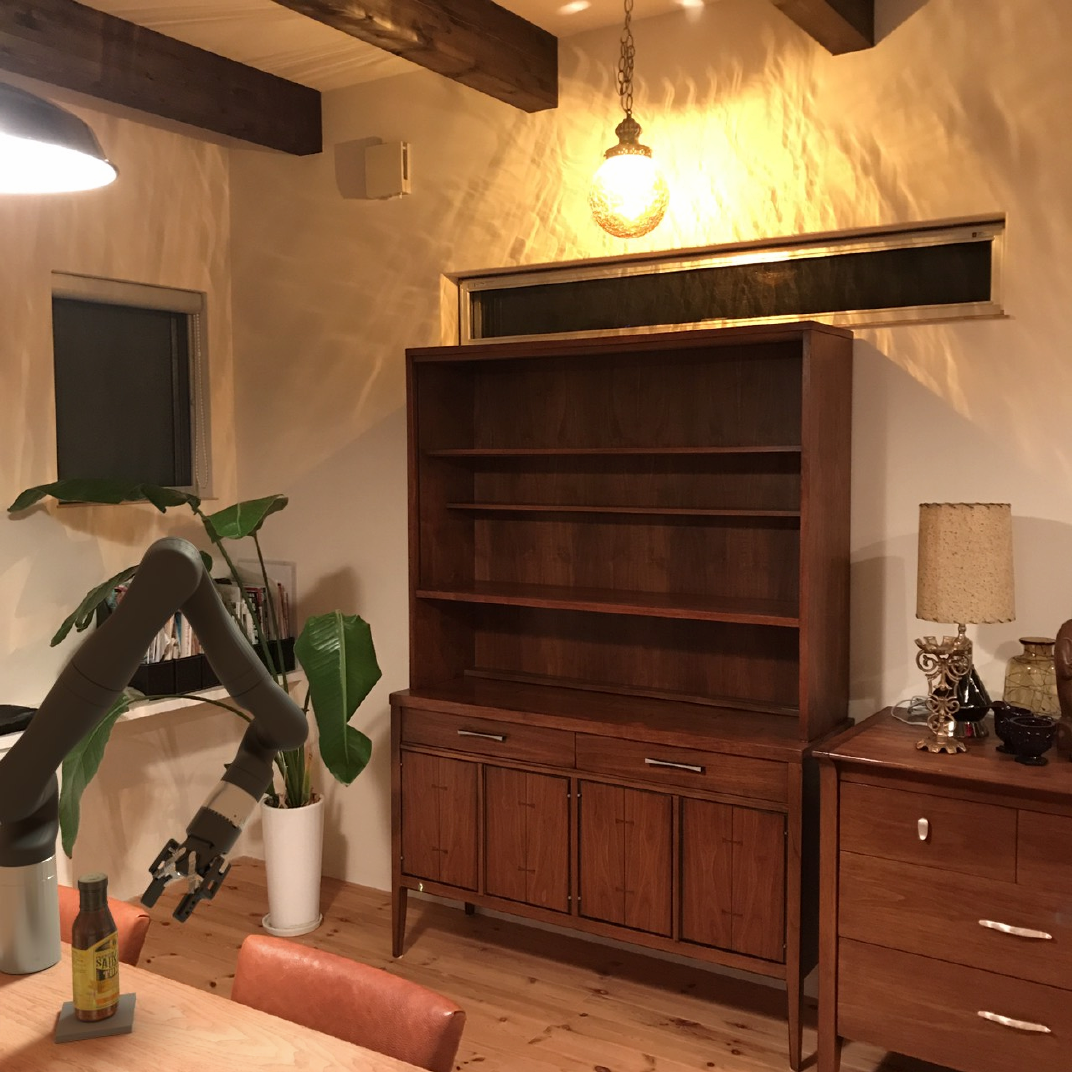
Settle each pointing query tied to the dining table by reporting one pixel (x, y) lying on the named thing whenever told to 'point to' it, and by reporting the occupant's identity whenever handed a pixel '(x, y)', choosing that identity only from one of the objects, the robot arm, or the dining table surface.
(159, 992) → the dining table surface
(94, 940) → the sauce bottle
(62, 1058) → the dining table surface
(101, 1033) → the rubber mat
